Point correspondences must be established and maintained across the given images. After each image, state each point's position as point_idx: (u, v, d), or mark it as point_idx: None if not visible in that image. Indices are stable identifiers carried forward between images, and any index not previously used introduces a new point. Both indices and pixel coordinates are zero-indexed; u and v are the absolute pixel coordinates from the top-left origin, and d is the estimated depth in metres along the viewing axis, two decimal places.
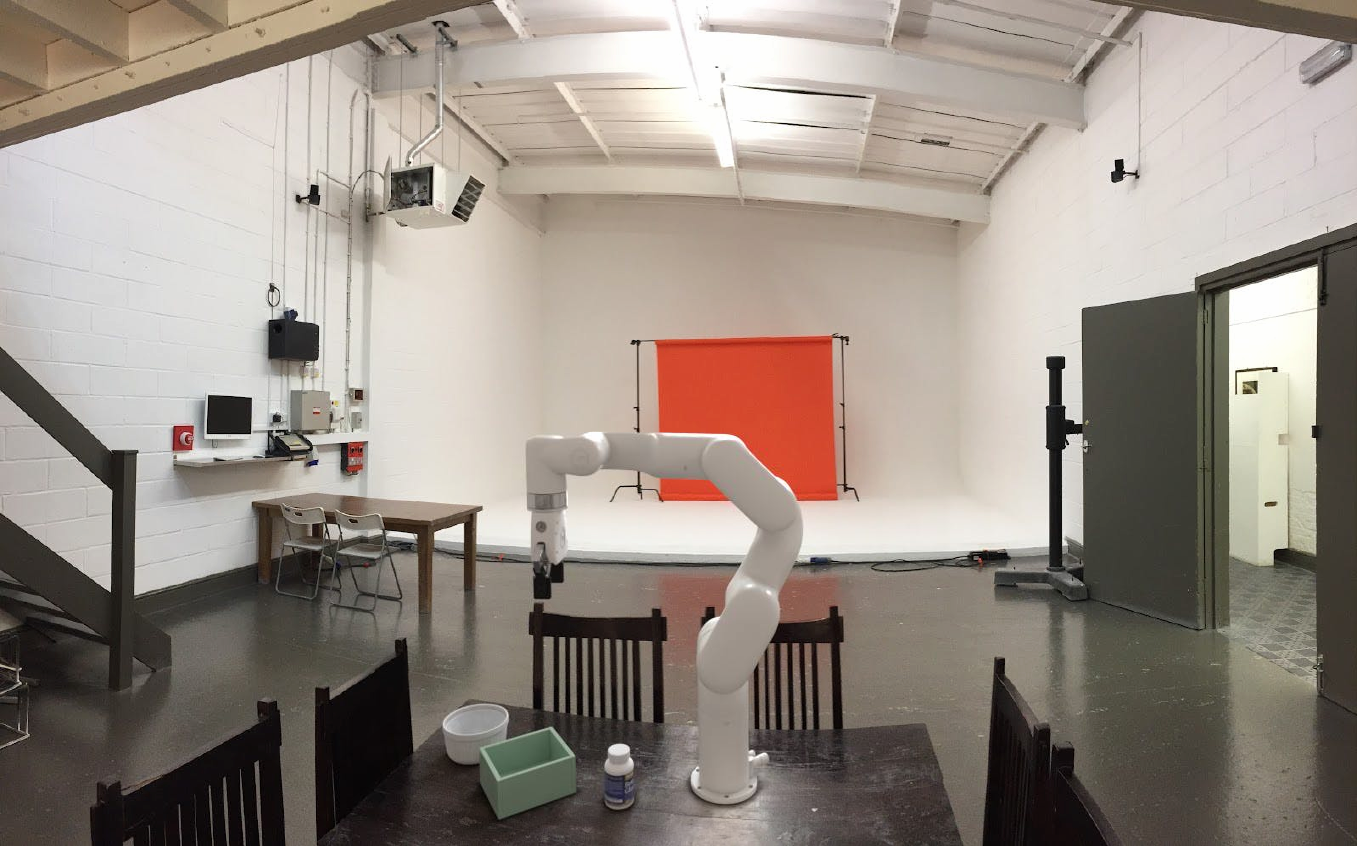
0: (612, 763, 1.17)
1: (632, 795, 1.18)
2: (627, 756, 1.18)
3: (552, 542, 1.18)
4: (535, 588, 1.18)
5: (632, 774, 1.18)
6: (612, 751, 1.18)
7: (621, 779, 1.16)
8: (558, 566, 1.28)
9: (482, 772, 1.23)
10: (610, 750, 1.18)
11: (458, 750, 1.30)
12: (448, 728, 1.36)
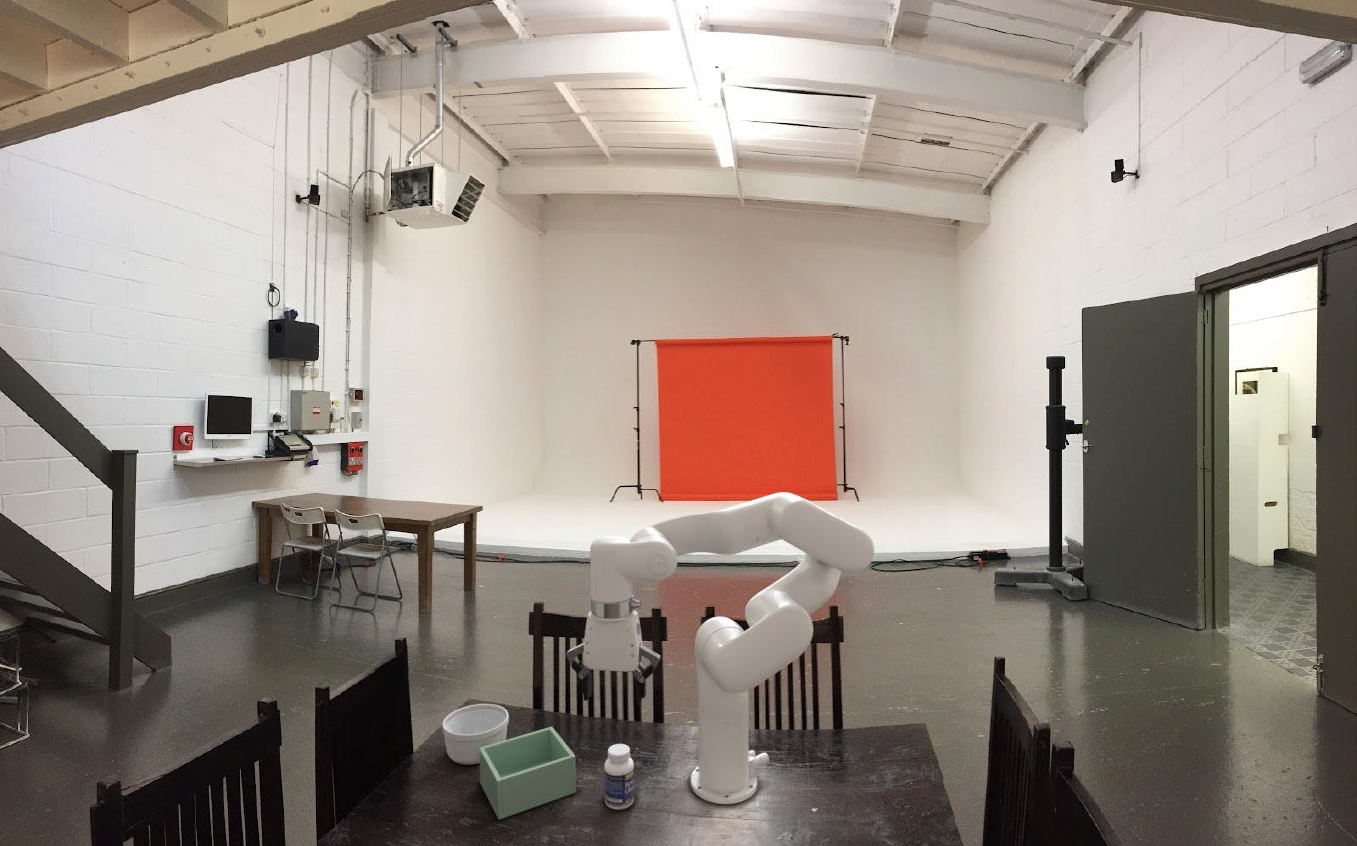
0: (612, 763, 1.17)
1: (632, 795, 1.18)
2: (627, 756, 1.18)
3: (641, 639, 1.19)
4: (639, 693, 1.16)
5: (632, 774, 1.18)
6: (612, 751, 1.18)
7: (621, 779, 1.16)
8: (590, 677, 1.20)
9: (482, 772, 1.23)
10: (610, 750, 1.18)
11: (458, 750, 1.30)
12: (448, 728, 1.36)
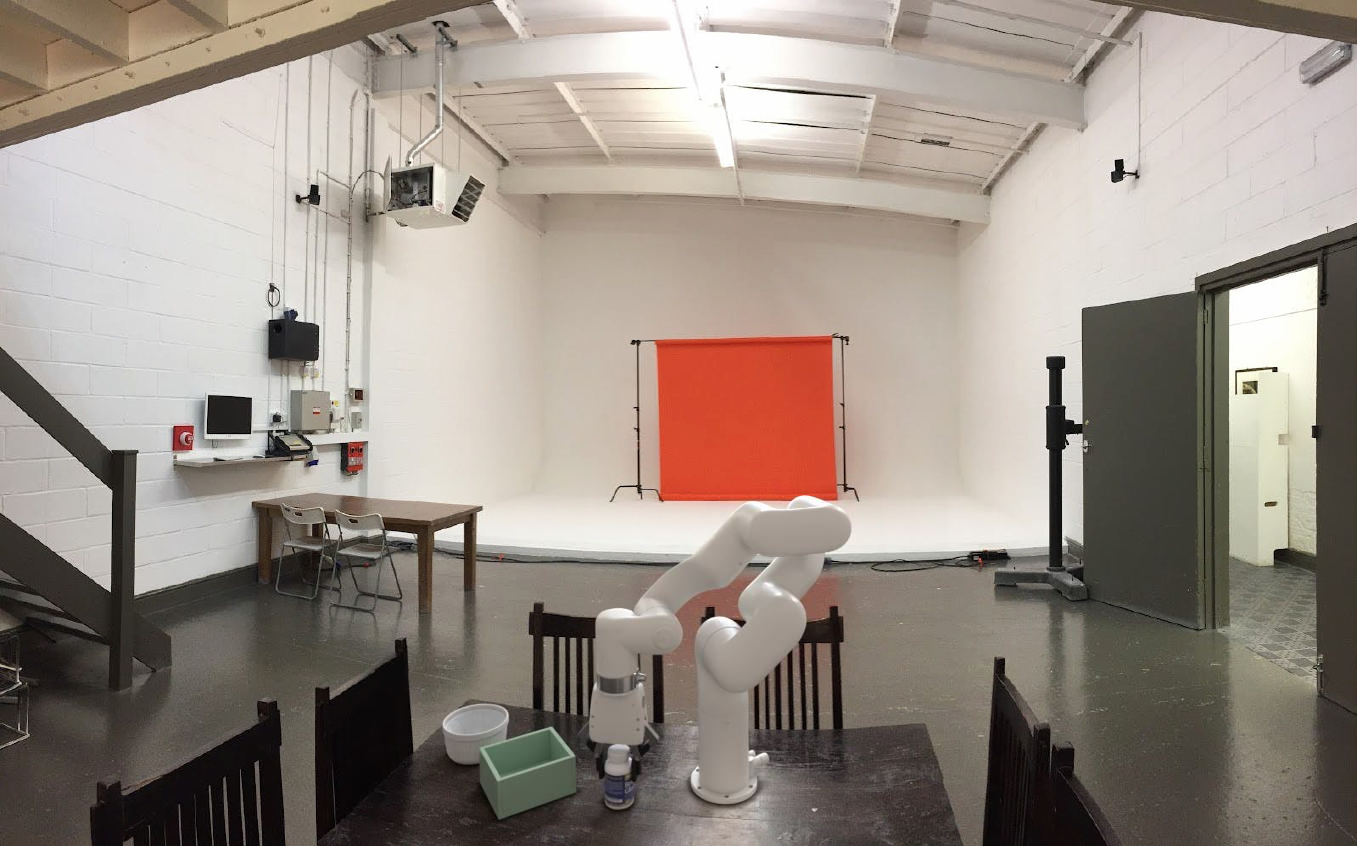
0: (612, 763, 1.17)
1: (632, 795, 1.18)
2: (627, 756, 1.18)
3: None
4: (635, 770, 1.17)
5: None
6: (611, 751, 1.18)
7: (621, 779, 1.16)
8: (605, 754, 1.20)
9: (482, 772, 1.23)
10: (610, 750, 1.18)
11: (458, 750, 1.30)
12: (448, 728, 1.36)
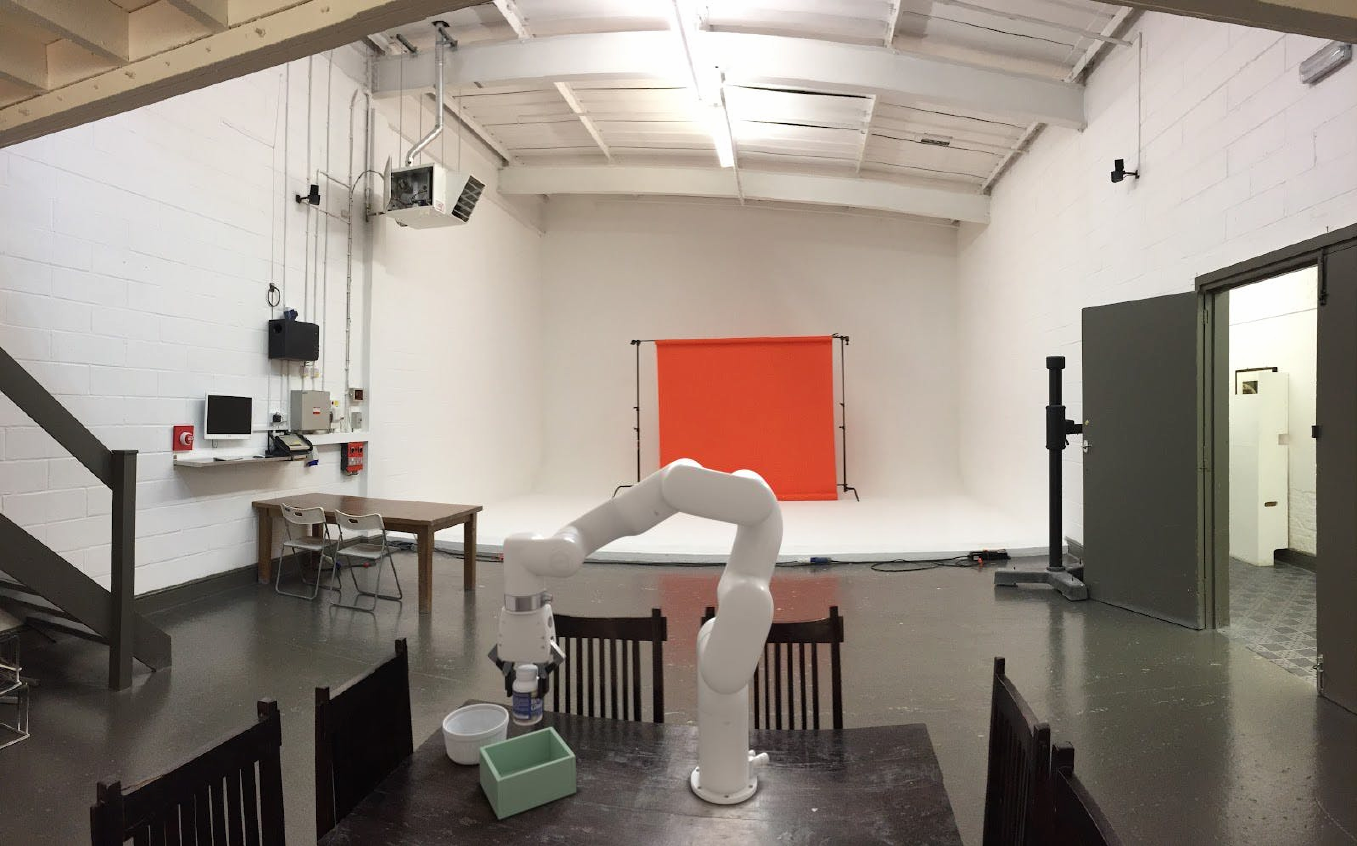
0: (519, 681, 1.21)
1: (539, 713, 1.22)
2: (534, 674, 1.21)
3: (554, 632, 1.23)
4: (542, 688, 1.21)
5: None
6: (519, 670, 1.21)
7: (527, 696, 1.20)
8: (515, 674, 1.23)
9: (482, 772, 1.23)
10: (518, 669, 1.22)
11: (458, 750, 1.30)
12: (448, 728, 1.36)
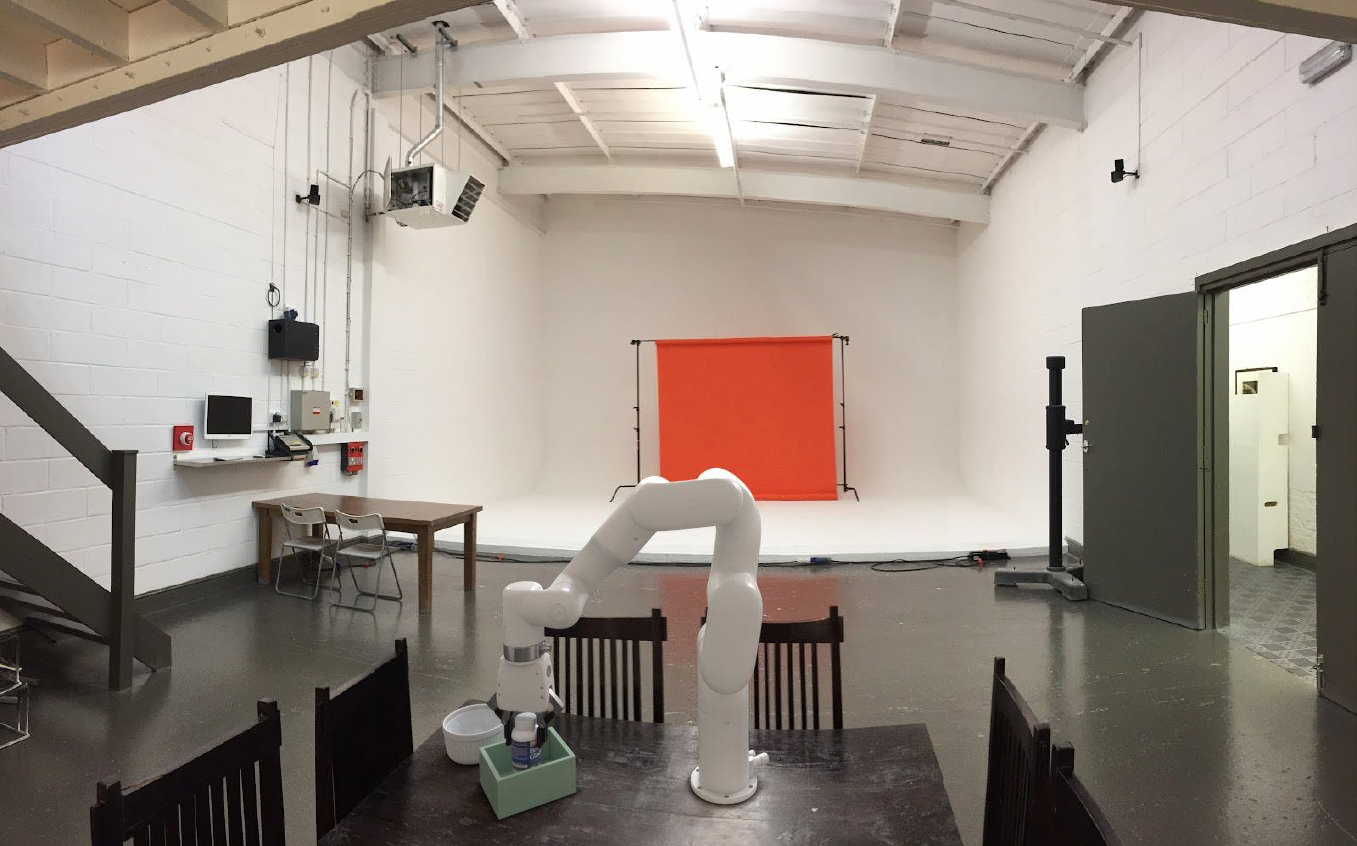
0: (518, 730, 1.22)
1: (538, 761, 1.22)
2: (533, 723, 1.22)
3: (553, 681, 1.24)
4: (540, 737, 1.21)
5: None
6: (518, 719, 1.22)
7: (526, 745, 1.20)
8: (514, 722, 1.24)
9: (482, 772, 1.23)
10: (517, 718, 1.22)
11: (458, 750, 1.30)
12: (448, 728, 1.36)
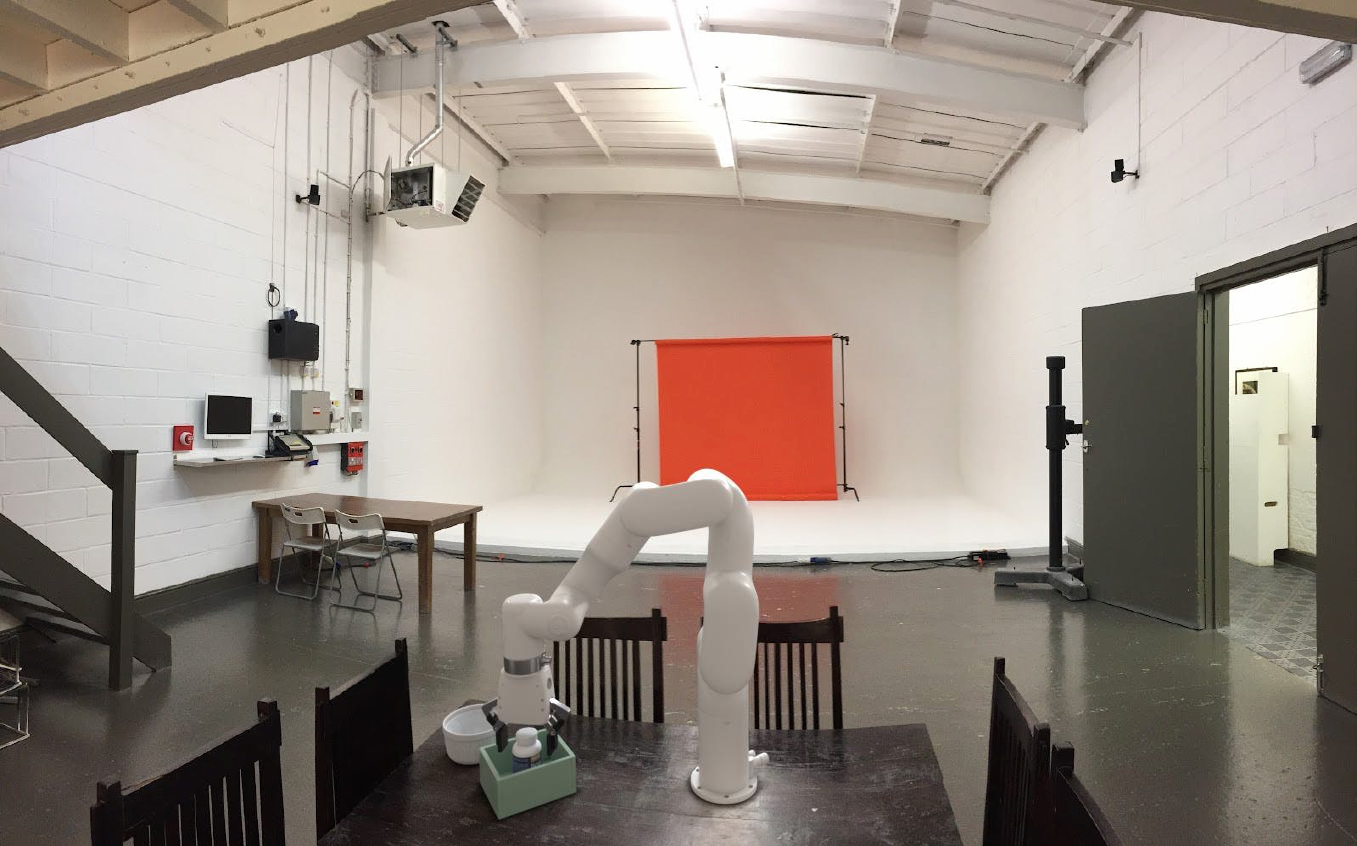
0: (519, 745, 1.22)
1: None
2: (534, 739, 1.22)
3: None
4: (550, 745, 1.21)
5: (539, 756, 1.22)
6: (519, 734, 1.22)
7: (526, 761, 1.21)
8: (506, 729, 1.24)
9: (482, 772, 1.23)
10: (517, 733, 1.23)
11: (458, 750, 1.30)
12: (448, 728, 1.36)
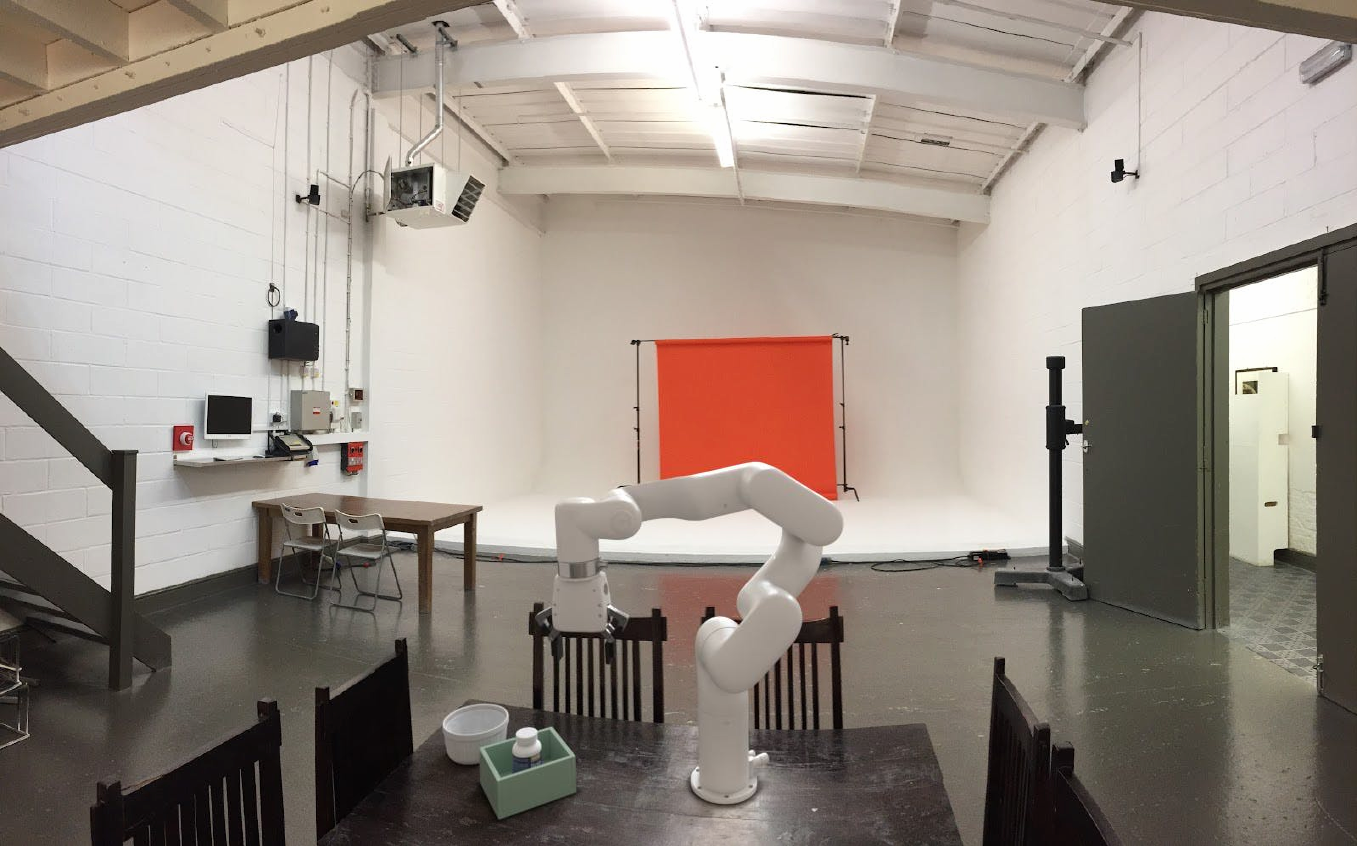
0: (519, 745, 1.22)
1: None
2: (534, 739, 1.22)
3: (610, 600, 1.18)
4: (609, 653, 1.16)
5: (539, 756, 1.22)
6: (519, 734, 1.22)
7: (527, 761, 1.21)
8: (561, 640, 1.19)
9: (482, 772, 1.23)
10: (517, 733, 1.23)
11: (458, 750, 1.30)
12: (448, 728, 1.36)
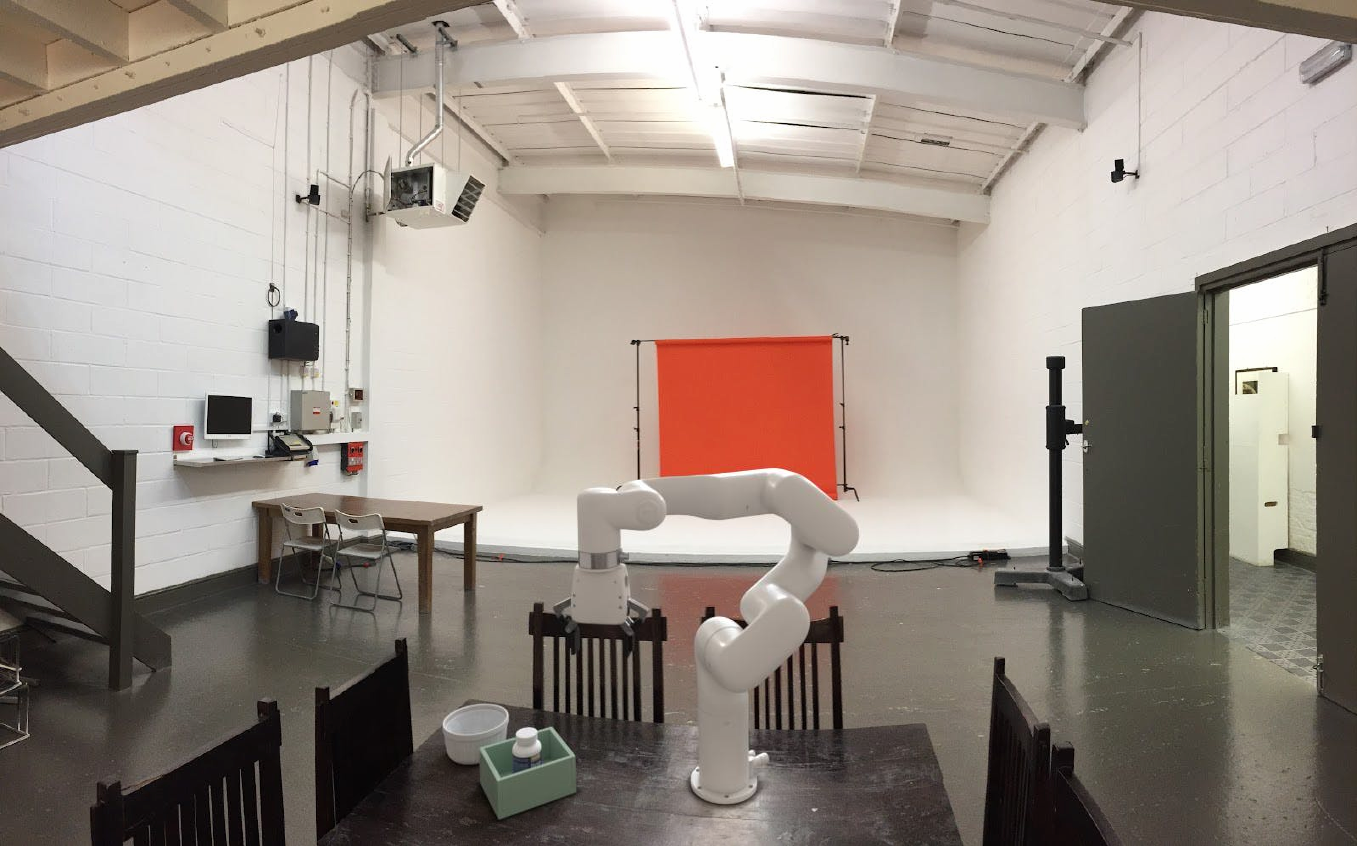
0: (519, 745, 1.22)
1: None
2: (534, 739, 1.22)
3: None
4: (628, 646, 1.14)
5: (539, 756, 1.22)
6: (519, 734, 1.22)
7: (527, 761, 1.21)
8: (578, 632, 1.17)
9: (482, 772, 1.23)
10: (517, 733, 1.23)
11: (458, 750, 1.30)
12: (448, 728, 1.36)
